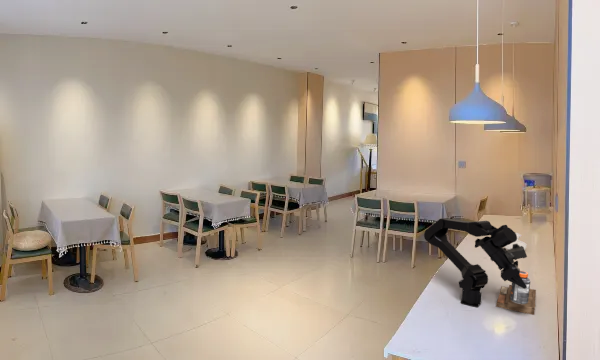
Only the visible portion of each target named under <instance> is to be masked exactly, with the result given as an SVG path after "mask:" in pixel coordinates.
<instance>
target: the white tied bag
mask: <svg viewBox="0 0 600 360" xmlns="http://www.w3.org/2000/svg"><path fill="white" fill-rule="evenodd" d="M515 233H516V235H517V240H516V241H515V242H513V243H511V244H509V245H507V246H505V247H504V248H505V249H506V250H509V249H510V248H512V247H513V244H518V245H519V246H520V247H521V246H523V247H524V250H525V251H526V249H527V247H528V243H526V242H524V241H523V240H520V238H521V237H522V234H521V233H519V232H515Z"/></svg>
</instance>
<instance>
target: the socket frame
mask: <svg viewBox="0 0 600 360" xmlns="http://www.w3.org/2000/svg"><path fill="white" fill-rule="evenodd" d="M508 285H509V286H503V285H501V286H500V290H499V292H498V296H497V299H496V302H495V307H496V308H501V309H506V310H510V311H513V312H517V313H518V312H519V313H523V314H527V315H533V316H535V310H536V296H537V295H536V294H537V290H536V289H534V288H530V290H529V299H528V303H527V304H518V303H515V302H513V301H511V299H510V295H511V285H512V284H508Z"/></svg>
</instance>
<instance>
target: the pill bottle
mask: <svg viewBox="0 0 600 360" xmlns="http://www.w3.org/2000/svg"><path fill="white" fill-rule="evenodd" d="M519 275H520V276H521V278H522V280H523V281H524V283H525V284H526V286H527V288H525V289H524V288H522V287H520V286H518V285H516V284H514V283H512V282H511V284H510V285H511V295H510V299H511V301H513V302H515V303H518V304H527V303H528V299H529V290H530V289H531V279H530V278H528V277H529V272H527V271H524V270H520V274H519Z"/></svg>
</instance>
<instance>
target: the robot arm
mask: <svg viewBox="0 0 600 360" xmlns="http://www.w3.org/2000/svg"><path fill="white" fill-rule="evenodd" d="M449 230H454V231H455V230H456V231H460V232H461V231H462V232H466V233H467V234H469V235H470V236H473V237H475V238H476V237H478V238H476V239H475V241H474V243H475V244H474V248H479V247H480V248H481V249H482V250H483V251H484V252H485V254H487V255H488V257H490V261H491V262H493V263H495V265H496V266H497V268H498V269H499V271H500V278H501V279H502V280H503V281H504V282H507V281H509V282H510V283H511V284H512V283H514V284H516V285H518V286H520V287H522V288H524V289H525V288H527V286H526V284H525V283H524V281H523V280H522V278H521V276H520V275H519V274H520V271H521V270H520V268H519V260H518V259H526V258H527V257H528V256H527V253H526V249H525V250H524V247H523V246H521V247H520V246H519V245H518V244H513V247H512V248H510V249H506V248H505V246H507V245H509V244H511V243H513V242H515V241H516V240H517V235H516V232H515V231H514V230H513V229H512V228H510V227H509V226H508V225H507V224H503V225H500V226H499V227H498V228H497V227H496V226H494V225H492V224H491V222H490V221H489V220H476V221H468V220H461V219H460V220H459V219H453V218H452V219H451V218H448V217H443V218H439V219H438V220H437V221H436V222H434V223H433V224H432V225H431V226H429V227H428V228H427V229H425V231H424V234H423V236H424V237H423V238H424V239H425V240H424V241H426V242H427V243H429V244H430V245H431V246H434V247H436V248H437V249H439V250H440V251H441V252H442V253H443V254H444V256H446V257H447V259H448V260H449V261H450V262H451V263H452V264H453V265H454V266H455V267H456V268H457V269H458V270H459V272H460V274H461V278H462V279H461V280H460V281H458V286H459V288H460V289H462V290H461V292H462V294H461V301H460V304H462V305H467V306H471V307H476V308H479V306H480V305H481V303H482V296H483V292H481V289H484V288H485V286H486V285H488V281H489V276H488V274H487V272H486V270H485V269H483V268H482V266H481V265H479V264H478V263H477V264H476V263H475V264H472V263H470V262H469V261H468V260H467V259H466V258H465V257H464V256H463V255H462V253H460V251H458V250H457V248H456V247H454V246H453V244H452V243H450V241H449V240H448V237H447V233H448V232H449ZM479 237H482V238H479Z"/></svg>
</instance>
